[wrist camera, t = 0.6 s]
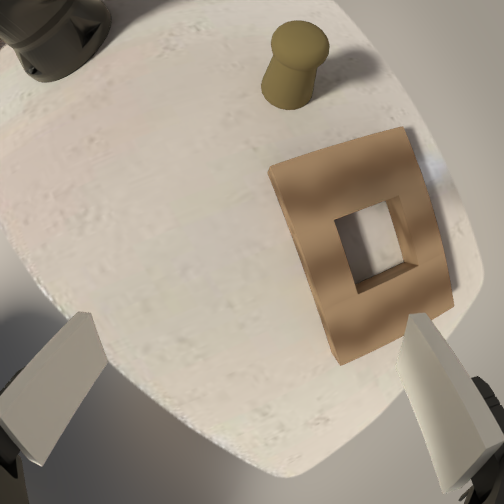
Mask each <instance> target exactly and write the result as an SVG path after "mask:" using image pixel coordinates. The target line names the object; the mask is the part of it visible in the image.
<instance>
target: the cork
mask: <svg viewBox="0 0 504 504" xmlns="http://www.w3.org/2000/svg"><path fill="white" fill-rule="evenodd" d="M271 47H272V52H273V57H272V59H271V61H270V64H269V66H268V68H267V70H266V73H265V75H264V77H263V80H262V84H261V88H262V93H263V95H264V97H265V99H266V100H267V101H268V102H269V103H271V104H272V105H274V106H276V107H278V108H280V109H285V110H295V109H298V108H301V107H303V106H304V105H306V104H307V103H308V102H309V100H310V99H311V97H312V92H313V87H314V81H315V76H316V71H317V67H318V66H320V65H321V64H322V63H324V61H325V59H326V58H327V56H328V54H329V41H328V38H327V36H326V35H325V34H324V32H323V31H322V30H321V29H320V28H319V27H317V26H316V25H314V24H312V23H310V22H306V21H290V22H287V23H284V24H283V25H281V26H279V27H278V28H277V30H276V31H275V32H274V34H273V36H272V40H271Z"/></svg>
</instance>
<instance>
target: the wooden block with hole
mask: <svg viewBox="0 0 504 504" xmlns="http://www.w3.org/2000/svg"><path fill="white" fill-rule="evenodd" d="M268 175H269V178H270V180H271V183H272V186H273V188H274V191H275V193H276V196H277V198H278V201H279V204H280V206H281V209H282V211H283V214H284V217H285V219H286V222H287V225H288V227H289V230H290V233H291V236H292V238H293V241H294V244H295V246H296V249H297V252H298V255H299V257H300V260H301V263H302V266H303V269H304V271H305V274H306V277H307V280H308V283H309V286H310V289H311V291H312V294H313V297H314V300H315V303H316V306H317V309H318V312H319V315H320V318H321V321H322V324H323V327H324V330H325V333H326V336H327V339H328V342H329V345H330V348H331V352H332V354H333V356H334V357H335V358H336V360H337V361H338V363H339V364H340V366H341V365H344V364H346V363H348V362H350V361H353V360H355V359H357V358H359V357H361V356H364V355H366V354H368V353H370V352H372V351H374V350H376V349H378V348H380V347H382V346H384V345H386V344H388V343H390V342H392V341H394V340H396V339H398V338H400V337H402V336H404V334H405V330H406V326H407V321H408V317H409V314H417V313H426V314H427V315H428V317H429V318H430V320H433V319H434V318H436V317H438V316H439V315H441V314H443V313H444V312H446V311H448V310H449V309H451V308H452V307H454V301H453V295H452V289H451V283H450V277H449V272H448V267H447V262H446V258H445V253H444V249H443V244H442V240H441V236H440V232H439V228H438V225H437V221H436V217H435V214H434V210H433V207H432V204H431V200H430V197H429V194H428V191H427V188H426V185H425V182H424V179H423V176H422V173H421V170H420V168H419V165H418V162H417V160H416V157H415V154H414V152H413V149H412V147H411V144H410V142H409V139H408V137H407V135H406V132H405V130H404V128H403V126H402V127H398V128H394V129H390V130H386V131H383V132H379V133H375V134H372V135H368V136H364V137H361V138H357V139H354V140H350V141H347V142H344V143H340V144H337V145H334V146H330V147H327V148H324V149H321V150H317V151H314V152H311V153H308V154H305V155H302V156H299V157H296V158H293V159H290V160H287V161H284V162H281V163H278V164H275V165H272V166H270V168H269V170H268ZM385 200H386V203H387V206H388V209H389V212H390V215H391V219H392V222H393V225H394V228H395V231H396V235H397V238H398V242H399V245H400V249H401V252H402V256H403V260H404V263H401V264H399V265H397V266H395V267H393V268H391V269H389V270H386V271H384V272H382V273H380V274H378V275H375V276H373V277H371V278H369V279H367V280H364V281H362V282H360V283H358V284H355V283H354V280H353V277H352V273H351V270H350V267H349V264H348V261H347V258H346V255H345V252H344V249H343V246H342V243H341V240H340V237H339V234H338V231H337V228H336V225H335V222H334V220H335V219H338V218H341V217H343V216H346V215H349V214H351V213H354V212H356V211H359V210H362V209H364V208H367V207H370V206H372V205H375V204H377V203H380V202H383V201H385Z"/></svg>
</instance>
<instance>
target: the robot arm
mask: <svg viewBox="0 0 504 504" xmlns="http://www.w3.org/2000/svg"><path fill="white" fill-rule="evenodd" d="M110 26H111V14H110V12H109V10H108V9H107V7H106V6H105V4H104V3H103V2H102V1H101V0H0V39H1V40H2V41H4V42H5V43H6V44H8V45H9V46H11V47H12V48H13V49H14V51H15V53H16V55H17V57H18V59H19V61H20V63H21V64H22V66H23V68H24V70H25V72H26V73H27V74H28V75H29V76H31V77H32V78H34V79H35V80H37V81H39V82H52V81H56V80H59V79H61V78H63V77H65V76H67V75H69V74H70V73H72V72H73V71H75V70H76V69H78V68H79V67H80V66H82V65H83V64H84V63H85V62H86V61H87V60H88V59H89V58H90V57H91V56H92V55H93V54H94V53H95V52H96V51H97V50H98V48H99V47H100V46H101V44H102V43H103V41H104V40H105V38H106V36H107V34H108V32H109V29H110ZM107 363H108V360H107V357H106V354H105V352H104V349H103V346H102V344H101V341H100V338H99V335H98V332H97V330H96V327H95V324H94V321H93V318H92V314H91V313H87V312H77V313H76V314H75V315H74V316H73V317H72V318H71V319H70V320H69V321H68V322H67V323H66V324H65V325H64V327H62V328H61V330H60V331H59V332H58V333H57V334H56V335H55V336H54V337H53V338H52V339H51V340H50V341H49V342H48V343H47V344H46V345H45V346H44V347H43V348H42V350H40V351H39V353H38V354H37V355H36V356H35V357H34V358H33V359H32V360H31V361H30V362H29V364H28V365H27V366H25V367H24V368H22V369H21V370H19V371H18V372H17V373H16V374H15V375H14V376H13V377H12V378H11V380H10V381H9V382H8V383H7V384H6V385H5V388H3V389H2V390H1V391H0V504H29V500H28V495H27V490H26V485H25V479H24V473H23V466H22V460H21V457H20V456H19V455H18V453H19V452H20V450H21V451H22V452H23V454H24V455H25V456H26V457H27V458H28V459H29V460H31V461H32V462H34V463H36V464H38V465H40V466H43V465H44V463H45V461H46V460H47V457H48V456H49V454H50V453H51V451H52V449H53V448H54V446H55V444H56V442H57V441H58V439H59V437H60V436H61V434H62V433H63V431H64V429H65V428H66V426H67V424H68V423H69V421H70V420H71V418H72V416H73V415H74V413H75V412H76V410H77V408H78V407H79V405H80V404H81V402H82V400H83V399H84V398H85V396H86V395H87V393H88V391H89V390H90V388H91V387H92V385H93V384H94V382H95V381H96V379H97V378H98V376H99V375H100V373H101V372H102V370H103V369H104V367H105V366H106V364H107ZM395 368H396V370H397V372H398V375H399V377H400V379H401V382H402V384H403V386H404V389H405V391H406V393H407V395H408V398H409V401H410V403H411V405H412V408H413V411H414V413H415V416H416V418H417V421H418V424H419V426H420V429H421V431H422V434H423V437H424V440H425V442H426V445H427V448H428V451H429V454H430V457H431V459H432V462H433V465H434V468H435V471H436V475H437V478H438V480H439V484H440V487H441V490H442V494H443V495H444V494H447V493H449V492H452V491H455V490H457V489H460V488H462V487H463V486H464V485H465V484H466V483H467V482H468V481H469V480H470V479H471V480H472V483H473V486H471V487H470V489H468V490H467V491H466V492H465V493H464V494H463V495H462V496H461V497H460V499H459V501H462V500H463V499H464V498H465V497H466V496H467V497H466V500H465V502H464V504H504V409H503V407H502V405H500V402H499V400H498V399H497V397H495V394H494V392H493V391H492V389H491V388H490V386H489V385H488V384H487V383H486V382H485V381H483V380H482V379H481V378H480V377H478V376H477V377H473V378H470V376H469V375H468V373H467V372H466V370H465V368H464V367H463V365H462V364H461V362H460V361H459V359H458V358H457V356H456V355H455V353H454V352H453V350H452V349H451V348H450V346H449V345H448V343H447V342H446V340H445V339H444V338H443V336H442V335H441V333H440V332H439V331H438V329H437V328H436V326H435V325H434V324H433V322H432V321H431V320H430V318H429V317H428V315H427V314H426V313H417V314H409V317H408V321H407V326H406V330H405V334H404V337H403V341H402V345H401V349H400V352H399V356H398V359H397V362H396V366H395Z"/></svg>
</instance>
